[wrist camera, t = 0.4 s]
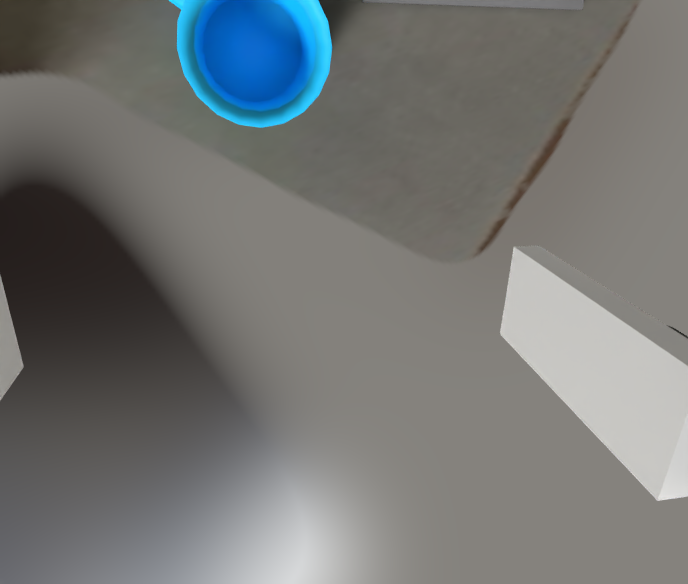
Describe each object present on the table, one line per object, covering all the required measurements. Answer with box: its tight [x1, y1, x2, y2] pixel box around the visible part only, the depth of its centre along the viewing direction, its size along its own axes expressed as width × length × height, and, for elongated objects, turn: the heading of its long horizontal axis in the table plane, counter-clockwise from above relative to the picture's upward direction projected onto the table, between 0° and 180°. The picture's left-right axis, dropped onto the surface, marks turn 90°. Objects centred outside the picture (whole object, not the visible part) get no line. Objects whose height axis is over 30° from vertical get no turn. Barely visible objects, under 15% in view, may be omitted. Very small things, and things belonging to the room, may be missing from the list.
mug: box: [169, 0, 332, 128], centre depth 31 cm, size 12×8×8 cm
